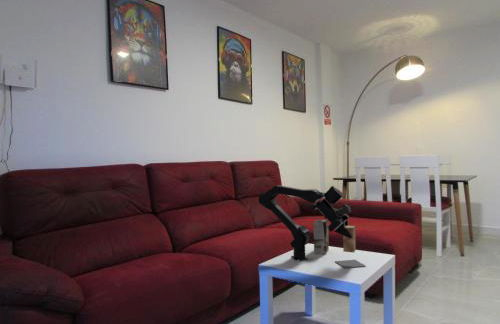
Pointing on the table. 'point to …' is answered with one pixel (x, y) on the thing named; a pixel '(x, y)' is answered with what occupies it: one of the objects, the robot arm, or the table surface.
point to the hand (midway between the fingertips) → (352, 236)
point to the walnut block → (349, 240)
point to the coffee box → (321, 236)
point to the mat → (350, 264)
